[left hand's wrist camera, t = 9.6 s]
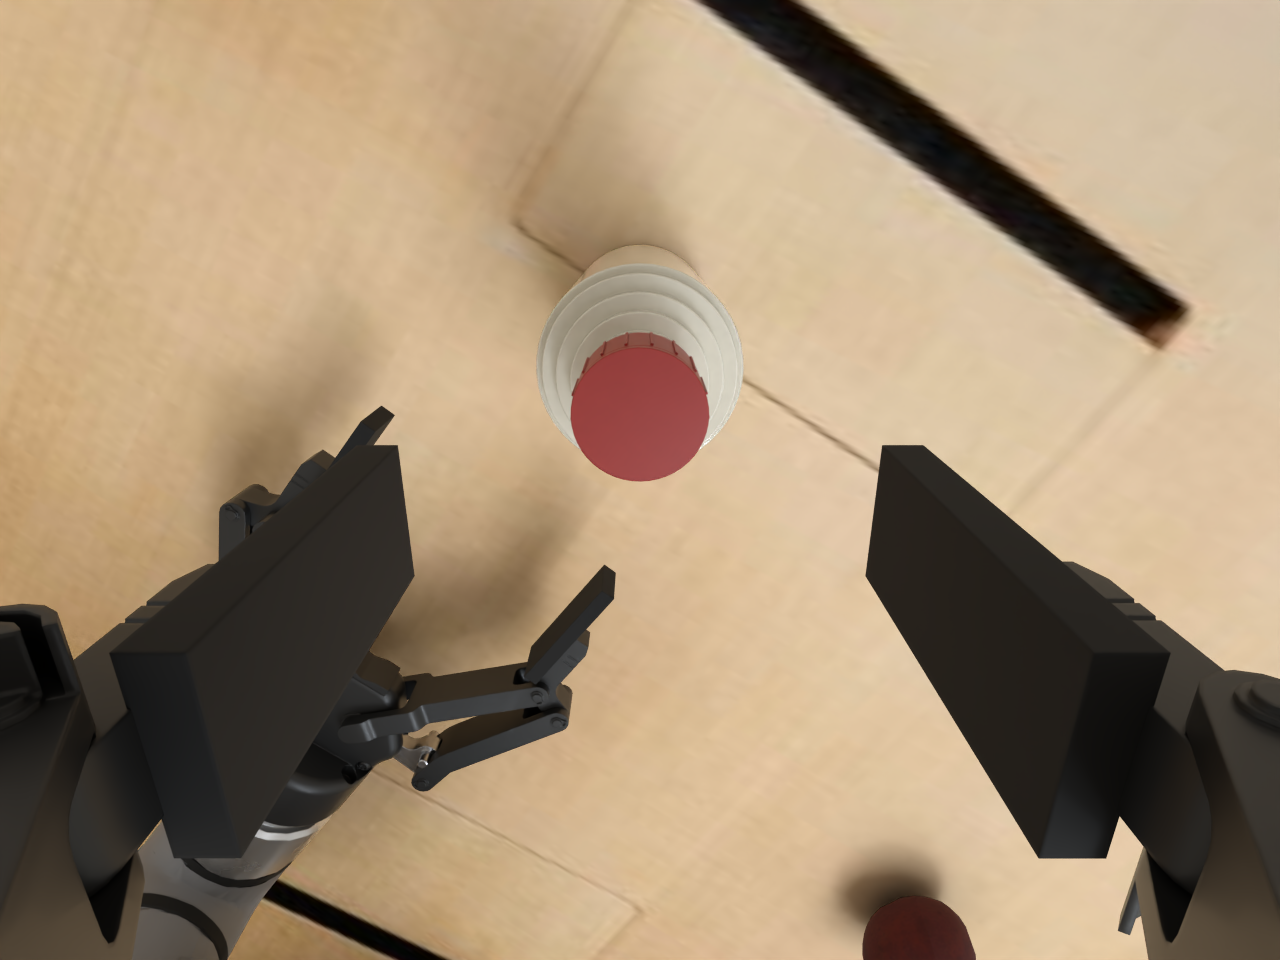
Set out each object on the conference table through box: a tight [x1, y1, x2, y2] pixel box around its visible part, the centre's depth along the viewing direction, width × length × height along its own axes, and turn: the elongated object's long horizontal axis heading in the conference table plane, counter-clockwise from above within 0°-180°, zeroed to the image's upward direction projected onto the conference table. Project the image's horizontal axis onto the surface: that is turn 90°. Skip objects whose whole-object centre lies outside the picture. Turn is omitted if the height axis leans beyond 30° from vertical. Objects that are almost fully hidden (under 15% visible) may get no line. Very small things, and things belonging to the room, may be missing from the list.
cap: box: [570, 332, 710, 481], centre depth 21 cm, size 4×4×2 cm
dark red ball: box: [863, 896, 976, 960], centre depth 49 cm, size 7×8×7 cm
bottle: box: [536, 245, 744, 450], centre depth 29 cm, size 7×7×18 cm
